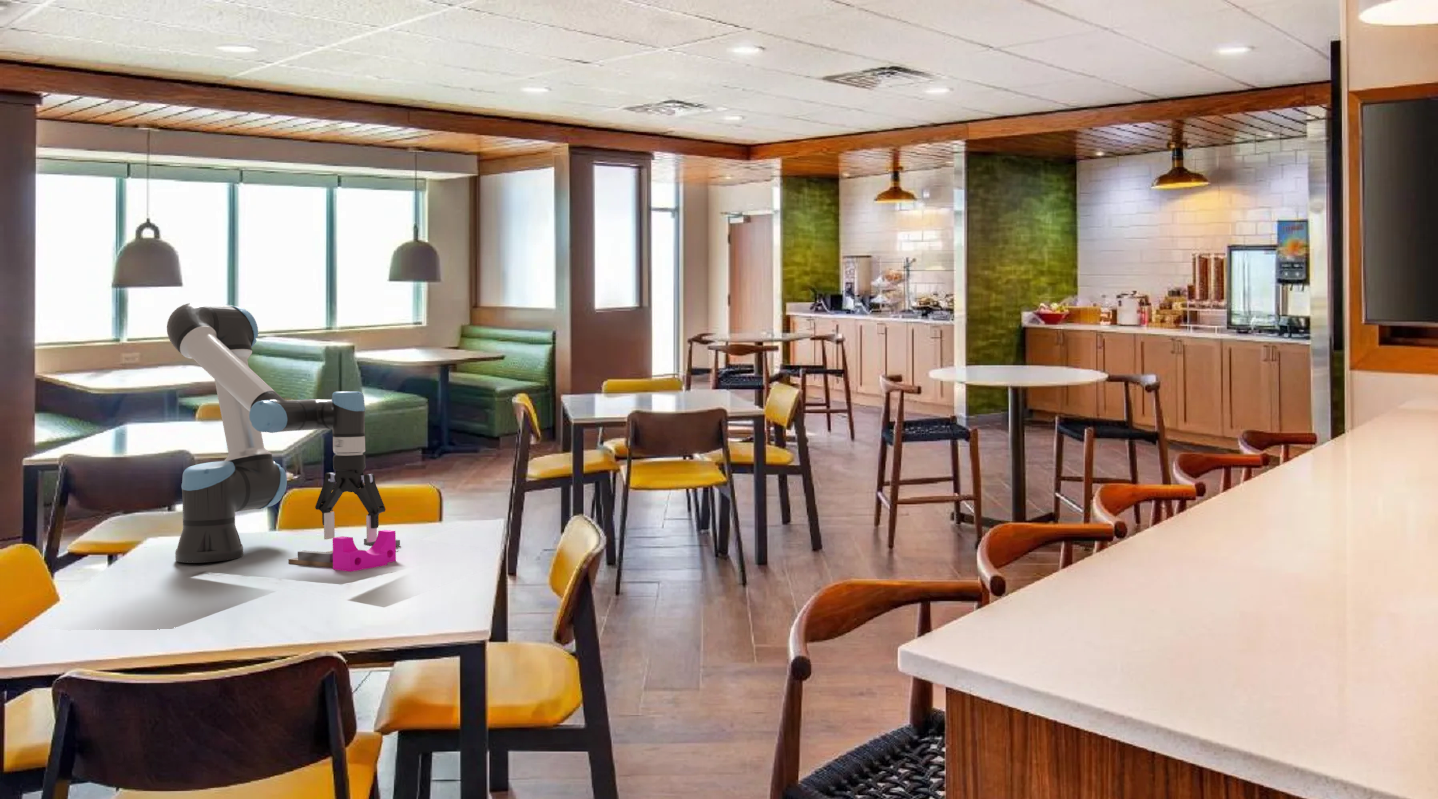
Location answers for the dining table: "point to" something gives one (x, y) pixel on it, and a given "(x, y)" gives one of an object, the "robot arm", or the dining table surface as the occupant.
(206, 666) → the dining table surface
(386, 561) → the toy block
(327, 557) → the wooden serving tray
